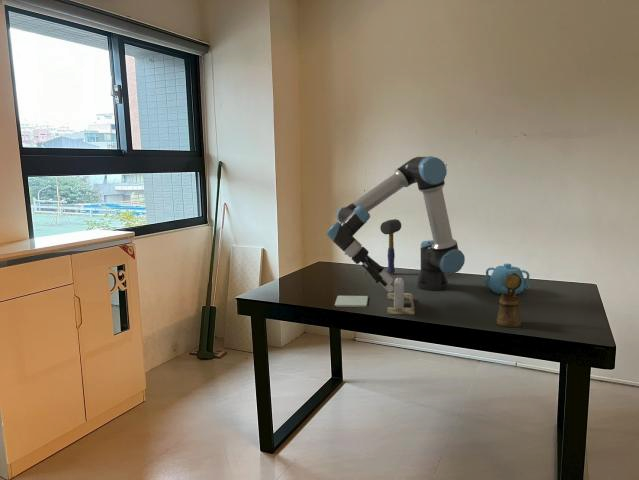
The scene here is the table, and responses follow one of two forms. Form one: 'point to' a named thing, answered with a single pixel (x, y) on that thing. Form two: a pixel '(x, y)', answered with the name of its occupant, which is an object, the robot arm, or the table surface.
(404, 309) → the frame
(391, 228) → the rubber mallet
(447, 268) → the robot arm
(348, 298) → the sage mat
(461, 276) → the table surface
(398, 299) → the grey upright block
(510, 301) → the brown wooden ornament
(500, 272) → the decorative pot
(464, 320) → the table surface
